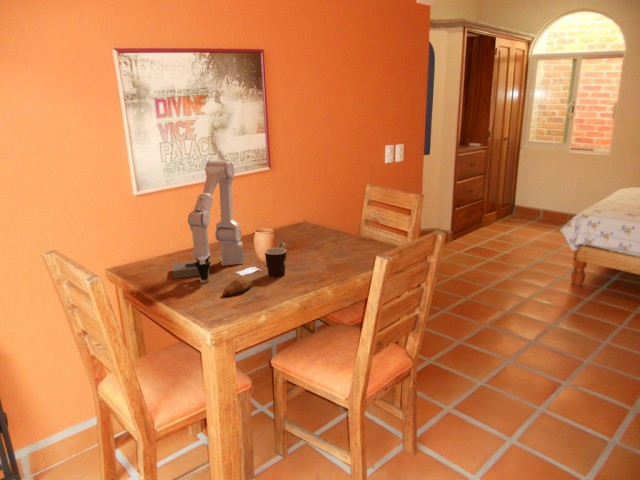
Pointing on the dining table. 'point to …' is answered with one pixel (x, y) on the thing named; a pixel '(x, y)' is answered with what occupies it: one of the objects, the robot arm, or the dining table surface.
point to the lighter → (282, 245)
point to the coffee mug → (276, 261)
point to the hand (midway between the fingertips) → (204, 276)
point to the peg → (204, 280)
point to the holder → (186, 269)
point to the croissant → (237, 287)
